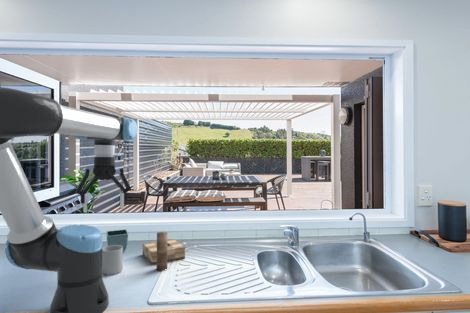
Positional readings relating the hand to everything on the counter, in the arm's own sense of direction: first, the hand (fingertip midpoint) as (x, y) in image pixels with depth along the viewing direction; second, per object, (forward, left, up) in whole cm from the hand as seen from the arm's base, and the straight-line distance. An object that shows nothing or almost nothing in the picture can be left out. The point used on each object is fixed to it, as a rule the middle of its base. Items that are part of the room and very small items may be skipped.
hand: (104, 210), depth 121 cm
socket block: (-1, -24, -22) cm, 33 cm away
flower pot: (+15, -8, -23) cm, 28 cm away
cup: (-6, -3, -22) cm, 23 cm away
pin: (-14, -19, -22) cm, 32 cm away
